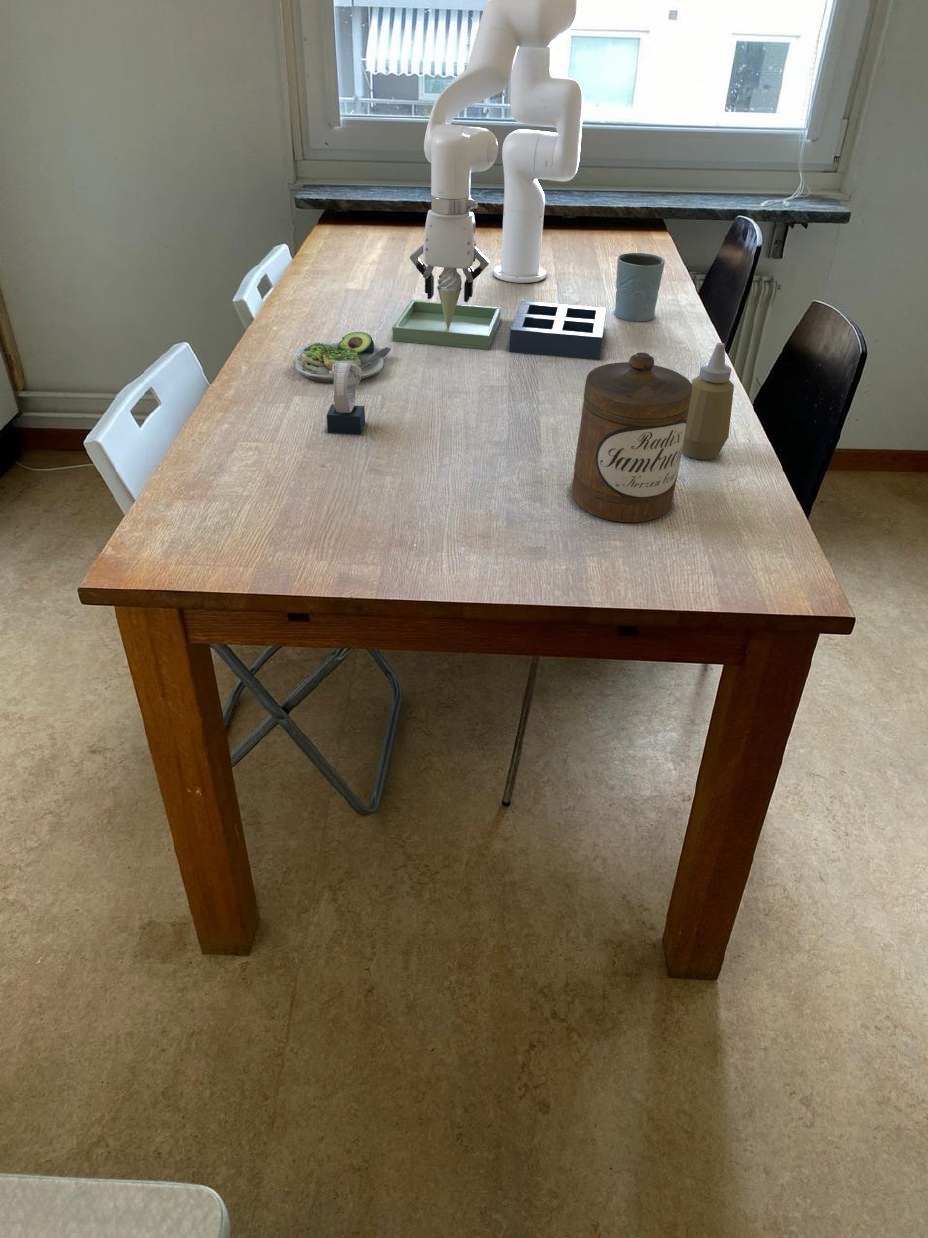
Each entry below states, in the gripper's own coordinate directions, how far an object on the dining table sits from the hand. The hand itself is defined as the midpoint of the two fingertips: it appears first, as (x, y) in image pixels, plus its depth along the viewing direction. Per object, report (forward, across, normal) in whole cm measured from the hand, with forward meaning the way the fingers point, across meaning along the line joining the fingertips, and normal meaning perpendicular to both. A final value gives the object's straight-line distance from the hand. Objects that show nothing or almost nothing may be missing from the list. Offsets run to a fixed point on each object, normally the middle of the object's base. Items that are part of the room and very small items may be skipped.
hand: (448, 297), depth 187 cm
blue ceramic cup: (+7, -38, -20) cm, 43 cm away
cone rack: (+7, -23, 0) cm, 24 cm away
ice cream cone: (+6, 0, 0) cm, 6 cm away
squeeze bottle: (+7, -50, +46) cm, 68 cm away
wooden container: (+7, -38, +64) cm, 75 cm away
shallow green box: (+7, 0, 0) cm, 7 cm away
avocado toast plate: (+7, +16, +24) cm, 30 cm away
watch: (+7, +8, +50) cm, 51 cm away
